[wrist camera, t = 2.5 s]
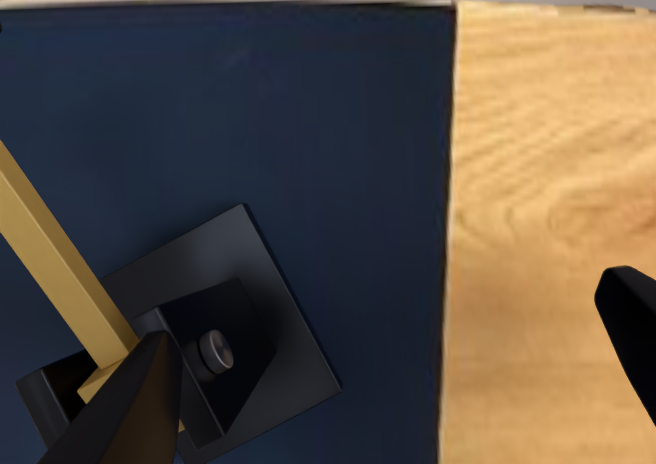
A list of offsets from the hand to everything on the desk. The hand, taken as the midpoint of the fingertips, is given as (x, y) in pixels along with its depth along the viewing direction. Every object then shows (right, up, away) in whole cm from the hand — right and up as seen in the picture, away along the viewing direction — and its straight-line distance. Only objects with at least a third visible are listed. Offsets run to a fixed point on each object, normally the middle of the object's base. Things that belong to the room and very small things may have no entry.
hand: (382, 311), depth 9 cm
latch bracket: (-7, -4, +15) cm, 17 cm away
